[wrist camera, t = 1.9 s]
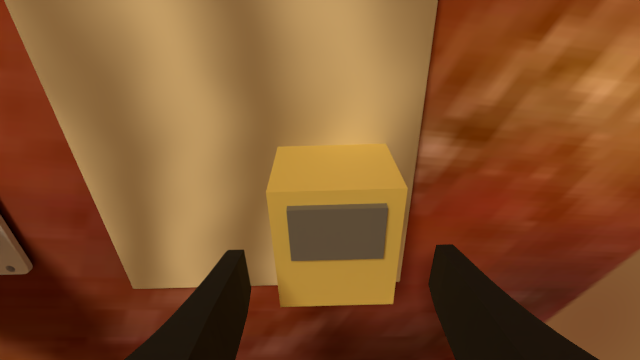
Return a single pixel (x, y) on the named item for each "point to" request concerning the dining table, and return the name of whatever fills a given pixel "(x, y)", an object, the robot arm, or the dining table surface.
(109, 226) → the plywood panel
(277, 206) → the block
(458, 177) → the dining table surface
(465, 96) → the dining table surface
